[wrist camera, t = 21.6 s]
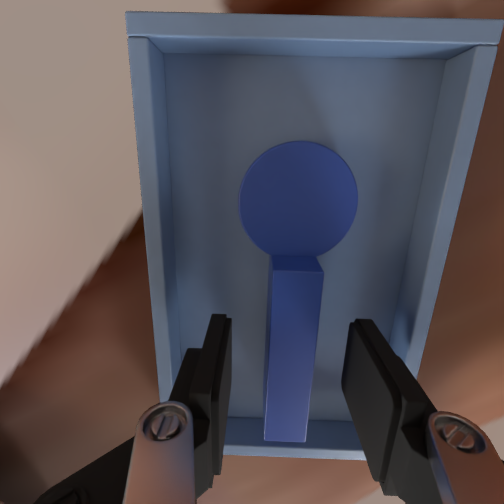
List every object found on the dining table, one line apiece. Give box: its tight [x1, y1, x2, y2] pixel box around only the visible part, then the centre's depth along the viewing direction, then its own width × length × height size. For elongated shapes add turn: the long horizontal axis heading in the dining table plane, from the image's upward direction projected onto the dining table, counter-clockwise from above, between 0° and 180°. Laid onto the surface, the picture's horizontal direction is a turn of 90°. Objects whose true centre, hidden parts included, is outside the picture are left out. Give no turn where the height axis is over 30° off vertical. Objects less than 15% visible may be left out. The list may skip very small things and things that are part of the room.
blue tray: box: [125, 11, 504, 460], centre depth 12 cm, size 16×10×2 cm, turn 178°
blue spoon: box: [238, 141, 358, 442], centre depth 11 cm, size 11×4×3 cm, turn 178°
